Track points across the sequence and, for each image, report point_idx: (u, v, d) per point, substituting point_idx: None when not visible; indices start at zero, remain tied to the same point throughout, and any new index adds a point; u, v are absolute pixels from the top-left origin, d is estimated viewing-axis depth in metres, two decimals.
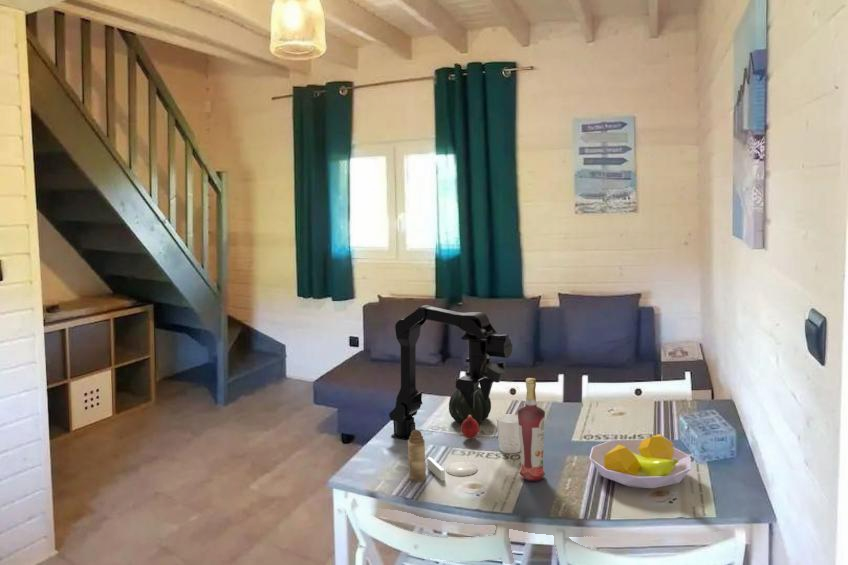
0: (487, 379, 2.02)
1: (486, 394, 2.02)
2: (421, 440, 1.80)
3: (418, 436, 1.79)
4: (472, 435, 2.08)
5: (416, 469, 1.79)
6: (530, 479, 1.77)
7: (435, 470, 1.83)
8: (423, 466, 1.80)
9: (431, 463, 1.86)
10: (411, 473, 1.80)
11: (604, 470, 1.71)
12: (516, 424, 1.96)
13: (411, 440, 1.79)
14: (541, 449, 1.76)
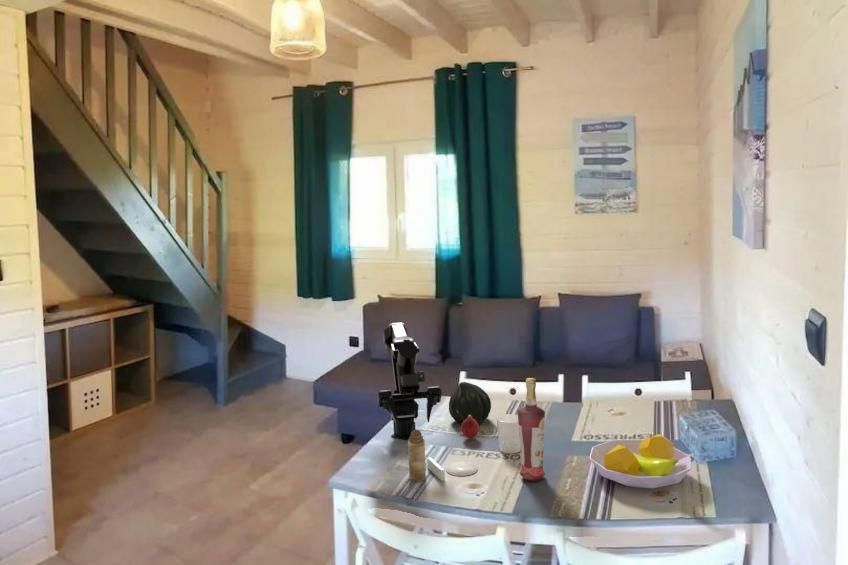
0: (427, 400, 1.93)
1: (427, 414, 1.90)
2: (421, 440, 1.80)
3: (418, 436, 1.79)
4: (472, 435, 2.08)
5: (416, 469, 1.79)
6: (530, 479, 1.77)
7: (435, 470, 1.83)
8: (423, 466, 1.80)
9: (431, 463, 1.86)
10: (411, 472, 1.80)
11: (604, 470, 1.71)
12: (516, 424, 1.96)
13: (411, 440, 1.79)
14: (541, 449, 1.76)
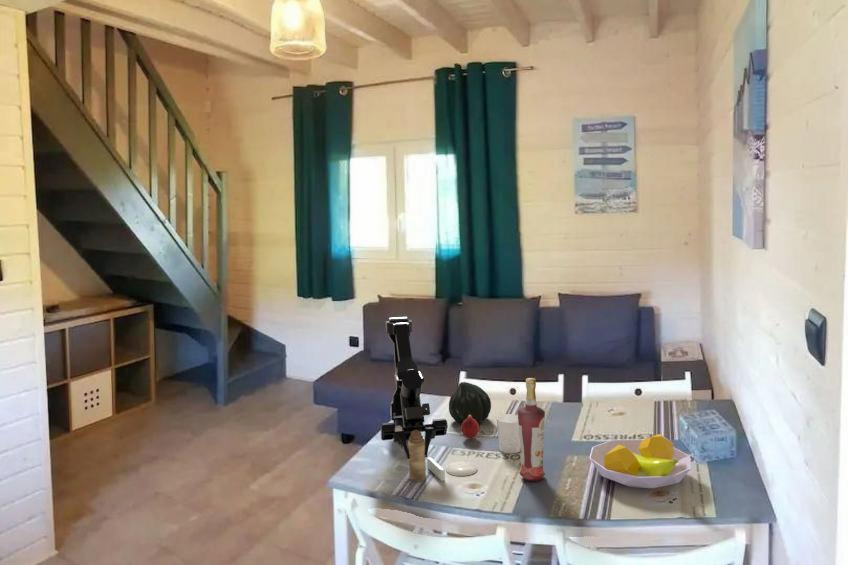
0: (425, 434, 1.84)
1: None
2: (421, 440, 1.80)
3: (418, 436, 1.79)
4: (472, 435, 2.08)
5: (416, 469, 1.79)
6: (530, 479, 1.77)
7: (435, 470, 1.83)
8: (423, 466, 1.80)
9: (431, 463, 1.86)
10: (411, 472, 1.80)
11: (604, 470, 1.71)
12: (516, 424, 1.96)
13: (411, 440, 1.79)
14: (541, 449, 1.76)
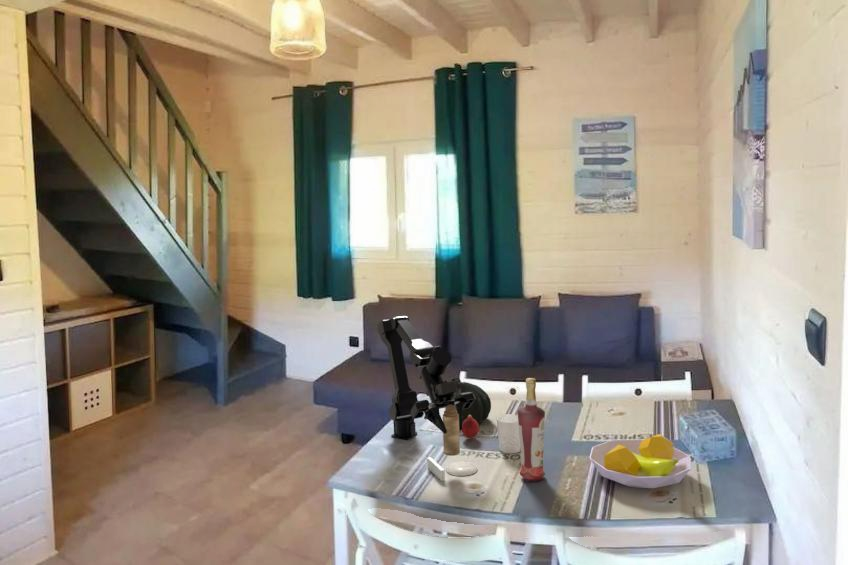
0: None
1: None
2: (457, 414, 1.83)
3: (454, 410, 1.82)
4: (472, 435, 2.08)
5: (453, 443, 1.82)
6: (530, 479, 1.77)
7: (435, 470, 1.83)
8: (458, 440, 1.83)
9: (431, 463, 1.86)
10: (448, 447, 1.82)
11: (604, 470, 1.71)
12: (516, 424, 1.96)
13: (448, 415, 1.82)
14: (541, 449, 1.76)
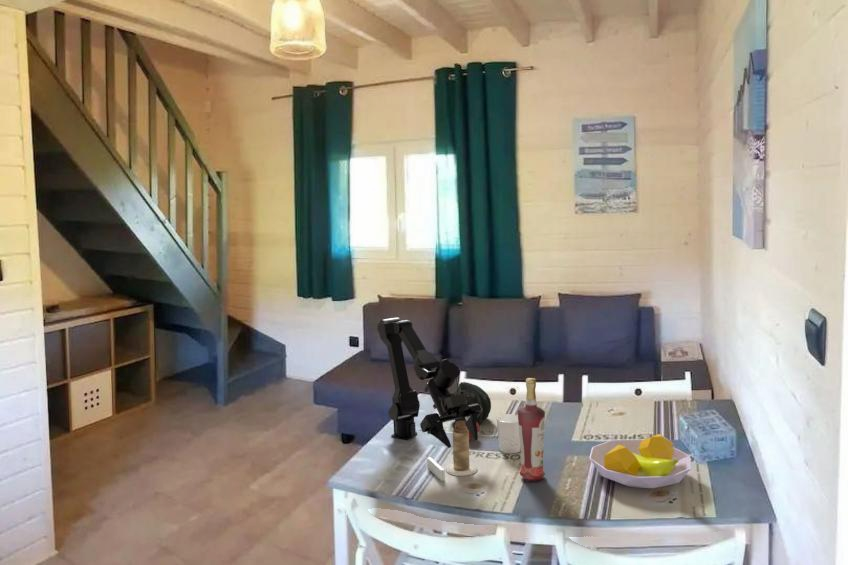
0: (469, 418, 1.91)
1: (473, 433, 1.88)
2: None
3: (464, 426, 1.85)
4: None
5: (464, 458, 1.85)
6: (530, 479, 1.77)
7: (435, 470, 1.83)
8: (468, 455, 1.86)
9: (431, 463, 1.86)
10: (458, 463, 1.85)
11: (604, 470, 1.71)
12: (516, 424, 1.96)
13: (458, 431, 1.84)
14: (541, 449, 1.76)
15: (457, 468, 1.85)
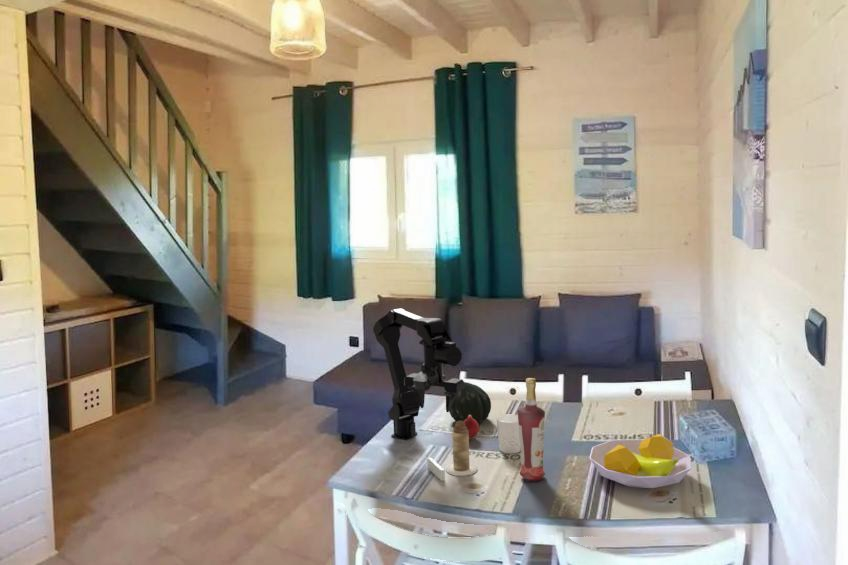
0: None
1: None
2: (466, 430, 1.85)
3: (464, 426, 1.85)
4: (472, 435, 2.08)
5: (464, 458, 1.84)
6: (530, 479, 1.77)
7: (435, 470, 1.83)
8: (468, 455, 1.86)
9: (431, 463, 1.86)
10: (458, 463, 1.85)
11: (604, 470, 1.71)
12: (516, 424, 1.96)
13: (458, 431, 1.84)
14: (541, 449, 1.76)
15: (457, 468, 1.85)
